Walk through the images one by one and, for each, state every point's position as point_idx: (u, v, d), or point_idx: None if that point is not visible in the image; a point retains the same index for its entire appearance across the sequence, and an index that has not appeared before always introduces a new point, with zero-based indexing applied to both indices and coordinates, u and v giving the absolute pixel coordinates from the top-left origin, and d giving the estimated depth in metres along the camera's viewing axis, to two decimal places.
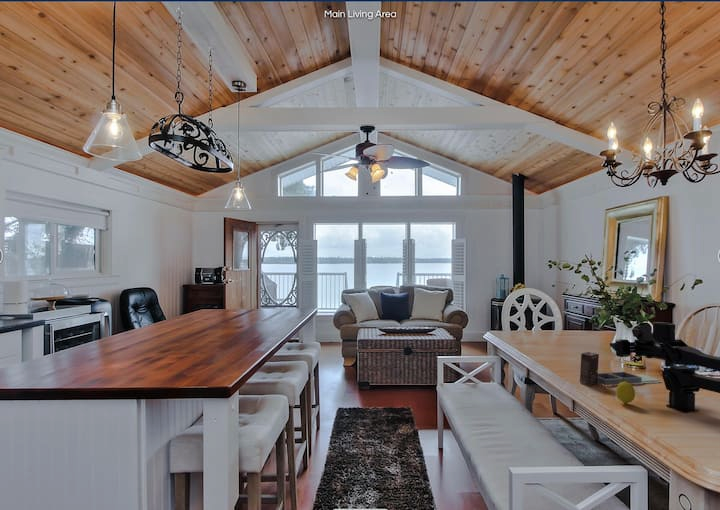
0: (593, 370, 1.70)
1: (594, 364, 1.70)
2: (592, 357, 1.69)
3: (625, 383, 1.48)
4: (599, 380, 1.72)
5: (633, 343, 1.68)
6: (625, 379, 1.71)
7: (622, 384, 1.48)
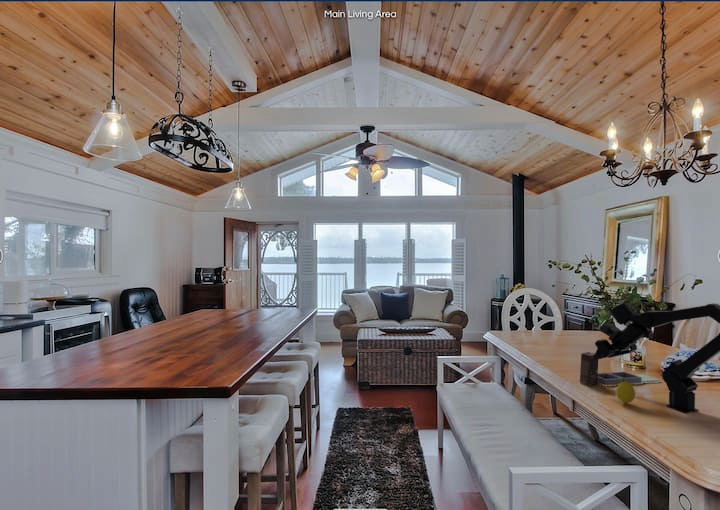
0: (593, 370, 1.70)
1: (594, 364, 1.70)
2: (592, 357, 1.69)
3: (625, 383, 1.48)
4: (599, 380, 1.72)
5: None
6: (625, 379, 1.71)
7: (622, 384, 1.48)
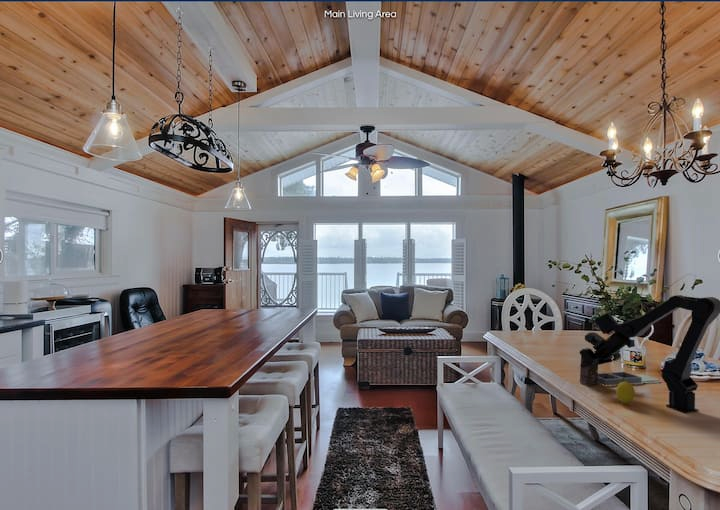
0: (593, 370, 1.70)
1: None
2: None
3: (625, 383, 1.48)
4: (599, 380, 1.72)
5: None
6: (625, 379, 1.71)
7: (622, 384, 1.48)
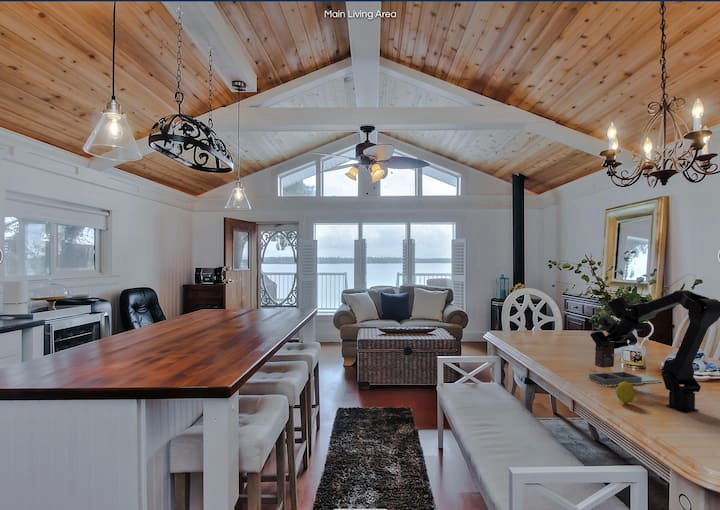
0: (607, 353, 1.74)
1: (608, 348, 1.74)
2: None
3: (625, 383, 1.48)
4: (599, 380, 1.72)
5: None
6: (625, 379, 1.71)
7: (622, 384, 1.48)
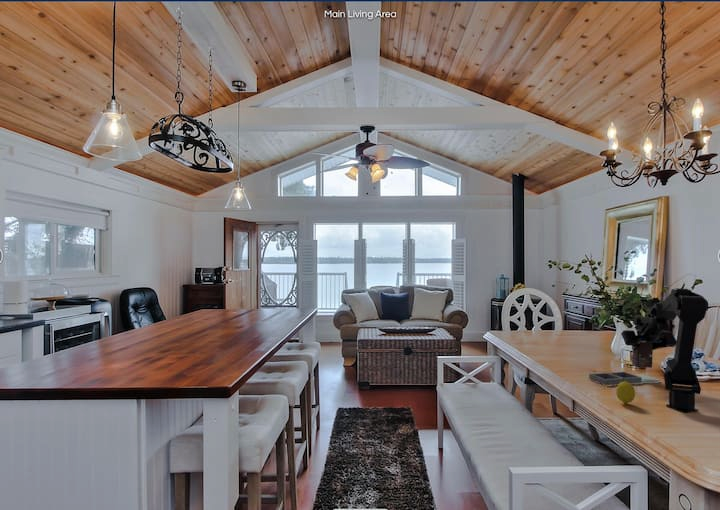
0: (642, 353, 1.76)
1: (644, 348, 1.76)
2: None
3: (625, 383, 1.48)
4: (599, 380, 1.72)
5: None
6: (625, 379, 1.71)
7: (622, 384, 1.48)
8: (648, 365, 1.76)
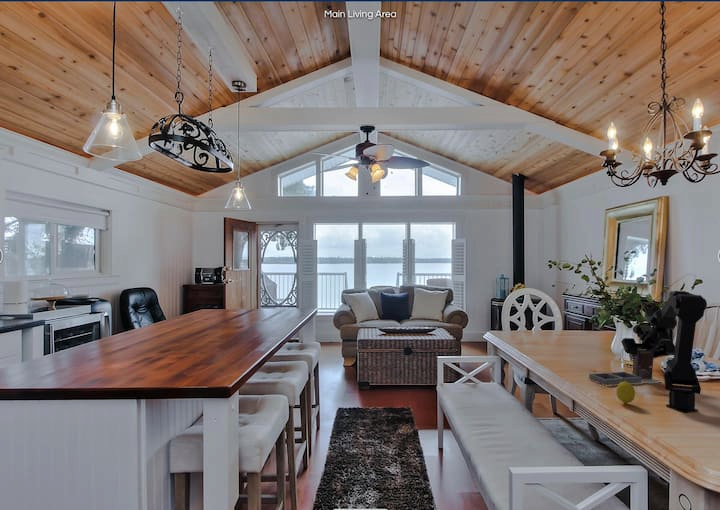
0: (642, 364, 1.76)
1: (645, 359, 1.76)
2: (641, 351, 1.76)
3: (625, 383, 1.48)
4: (599, 380, 1.72)
5: None
6: (625, 379, 1.71)
7: (622, 384, 1.48)
8: (648, 376, 1.76)
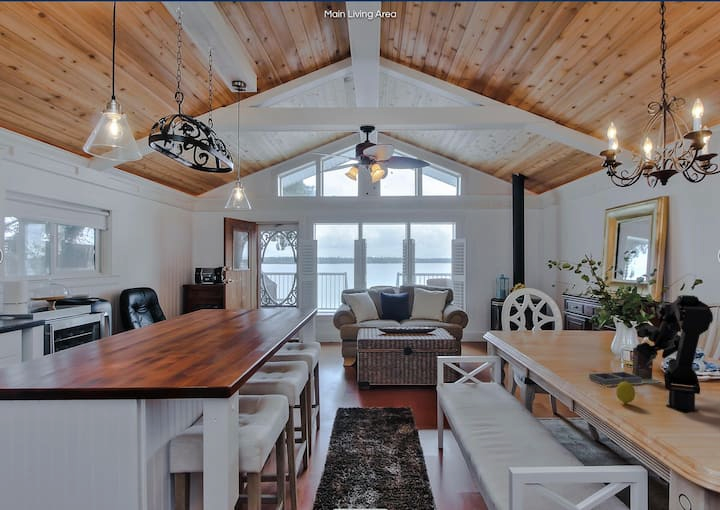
0: (642, 364, 1.76)
1: None
2: None
3: (625, 383, 1.48)
4: (599, 380, 1.72)
5: (664, 353, 1.70)
6: (625, 379, 1.71)
7: (622, 384, 1.48)
8: (648, 376, 1.76)
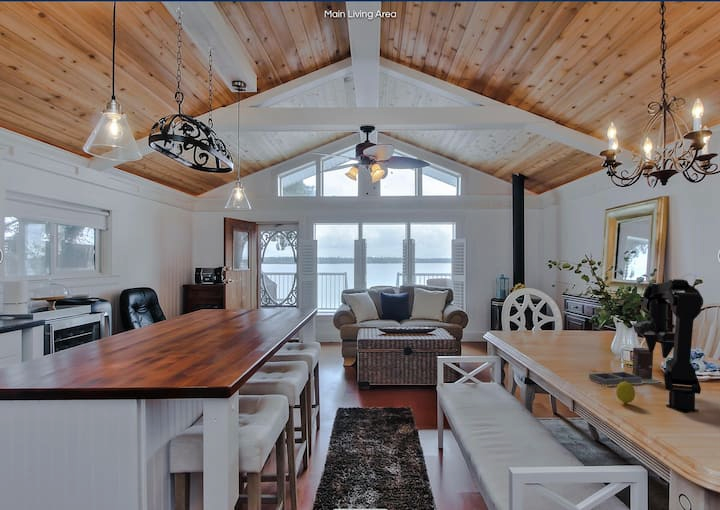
0: (642, 364, 1.76)
1: (644, 359, 1.76)
2: (640, 351, 1.76)
3: (625, 383, 1.48)
4: (599, 380, 1.72)
5: (650, 347, 1.71)
6: (625, 379, 1.71)
7: (622, 384, 1.48)
8: (648, 376, 1.76)
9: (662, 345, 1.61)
